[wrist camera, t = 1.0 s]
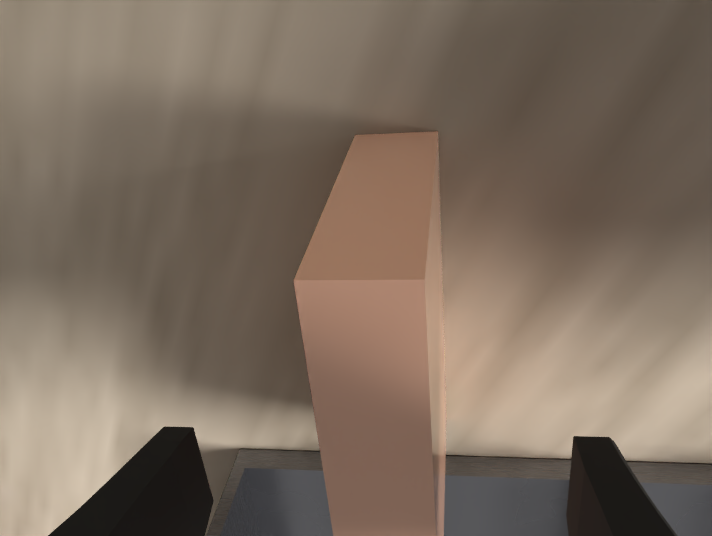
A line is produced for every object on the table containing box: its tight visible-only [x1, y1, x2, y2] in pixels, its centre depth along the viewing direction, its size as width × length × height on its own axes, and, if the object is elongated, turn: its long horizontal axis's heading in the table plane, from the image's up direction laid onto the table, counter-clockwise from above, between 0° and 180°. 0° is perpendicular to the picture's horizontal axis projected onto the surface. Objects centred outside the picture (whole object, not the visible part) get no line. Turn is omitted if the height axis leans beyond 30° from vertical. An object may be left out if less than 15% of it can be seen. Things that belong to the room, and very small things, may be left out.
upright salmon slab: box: [293, 131, 447, 536], centre depth 15 cm, size 2×9×7 cm, turn 5°
